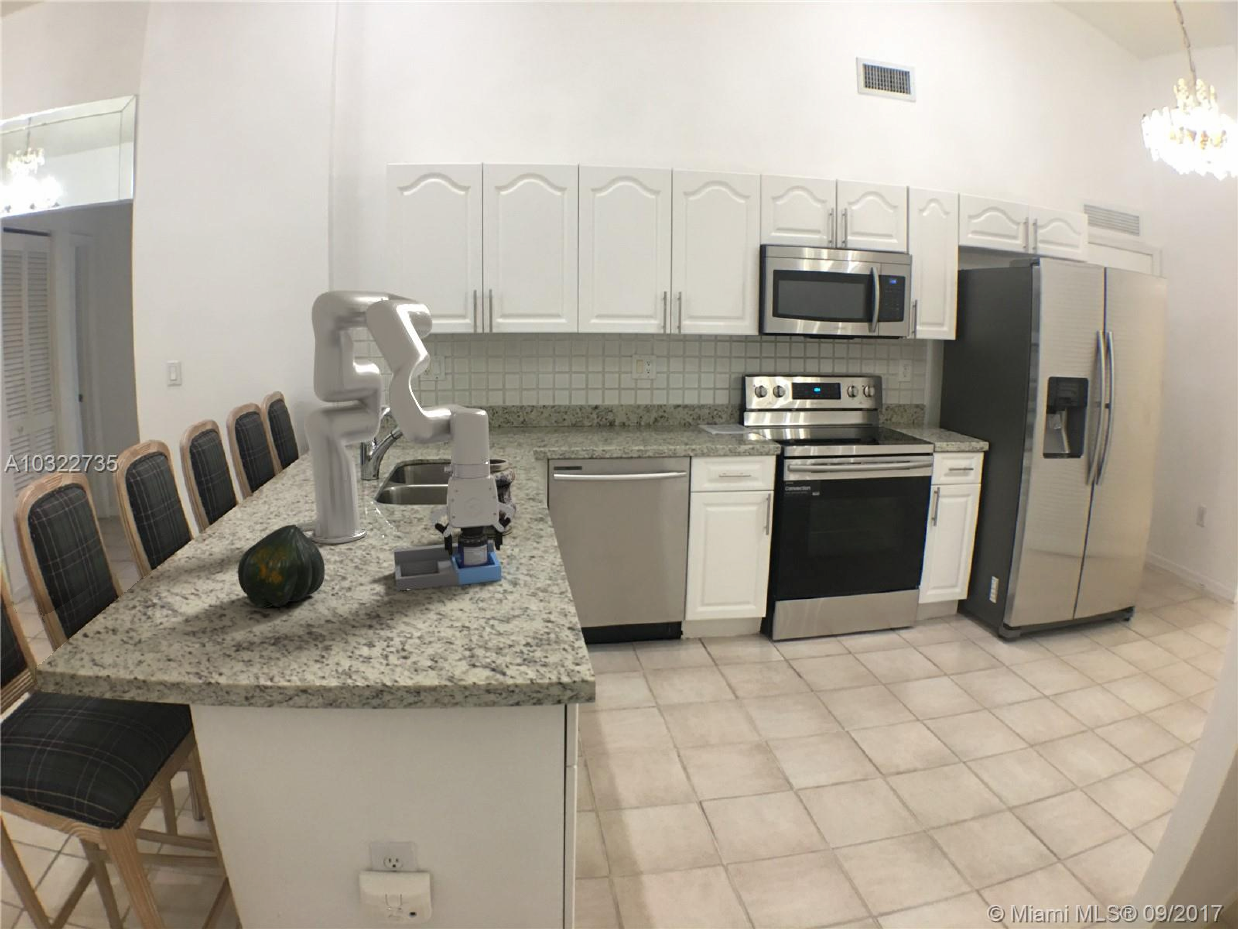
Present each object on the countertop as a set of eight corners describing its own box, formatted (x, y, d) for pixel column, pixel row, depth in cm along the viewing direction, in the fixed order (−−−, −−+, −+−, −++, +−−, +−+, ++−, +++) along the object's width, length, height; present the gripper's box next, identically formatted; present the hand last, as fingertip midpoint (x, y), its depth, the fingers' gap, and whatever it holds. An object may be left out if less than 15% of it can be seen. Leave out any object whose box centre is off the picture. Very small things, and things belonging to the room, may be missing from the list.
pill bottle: (461, 569, 150) (459, 519, 148) (490, 569, 151) (488, 519, 148) (457, 580, 144) (454, 528, 142) (487, 579, 145) (485, 527, 142)
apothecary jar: (521, 525, 182) (520, 456, 178) (510, 539, 170) (508, 466, 167) (476, 523, 183) (473, 455, 179) (461, 537, 171) (458, 465, 168)
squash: (206, 586, 126) (258, 525, 124) (249, 561, 141) (296, 506, 139) (270, 636, 127) (322, 577, 126) (306, 606, 142) (353, 552, 140)
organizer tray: (396, 591, 138) (395, 567, 137) (395, 571, 149) (393, 549, 148) (501, 580, 144) (500, 556, 143) (493, 561, 155) (492, 539, 154)
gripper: (428, 477, 137) (432, 561, 140) (517, 471, 142) (518, 552, 145) (425, 469, 143) (429, 549, 147) (510, 464, 149) (512, 541, 152)
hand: (474, 551), depth 146 cm, fingers open, 9 cm apart
